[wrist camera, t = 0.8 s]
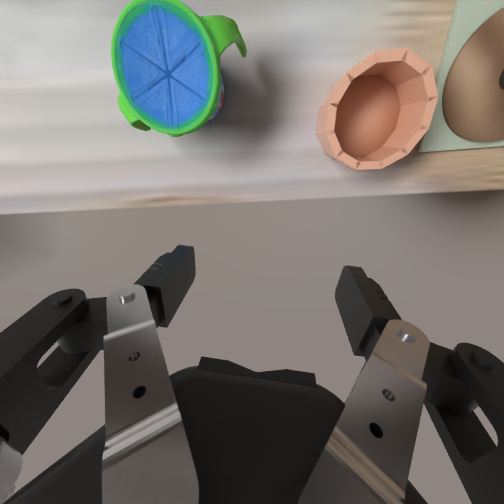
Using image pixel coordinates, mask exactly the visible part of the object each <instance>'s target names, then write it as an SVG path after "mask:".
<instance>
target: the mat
mask: <svg viewBox="0 0 504 504" xmlns="http://www.w3.org/2000/svg"><path fill="white" fill-rule="evenodd" d="M503 7H504V0H456V4H455V8H454V12H453V16H452V20H451V24H450V28H449V32H448V36H447V40H446V44H445V48H444V51H443V55H442V59H441V63H440V67H439V71H438V75H437V79H436V87H437V91H438V100H437V103H436V106H435V110H434V113H433V116H432V120H431V123H430V127H429V129H428V130H427V132H426V133H425V134H424V135H423V137H422V138H421V142H420V146H419V150H418V152H429V151H442V150H456V149H469V148H483V147H496V146H504V139H502V140H498V141H491V142H474V141H468V140H465V139H463V138H461V137H459V136H457V135H456V134H455V133H453V132H452V131H451V129H450V128H449V127H448V125H447V123H446V122H445V119H444V116H443V111H442V94H443V88H444V84H445V80H446V77H447V75H448V72H449V70H450V67H451V65H452V63H453V61H454V59H455V58H456V56H457V54H458V52H459V51H460V50H461V48H462V47H463V45H464V44H465V42H466V41H467V40H468V39H469V37H470V36H471V35H472V34H473V33H474V32H475V31H476V30H477V29H478V28H479V27H480V25H481V24H483V23H484V22H485V21H486V20H487V19H488V18H489V17H491V16H492V15H493V14H495V13H496V12H497V11H499V10H500V9H501V8H503Z"/></svg>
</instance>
